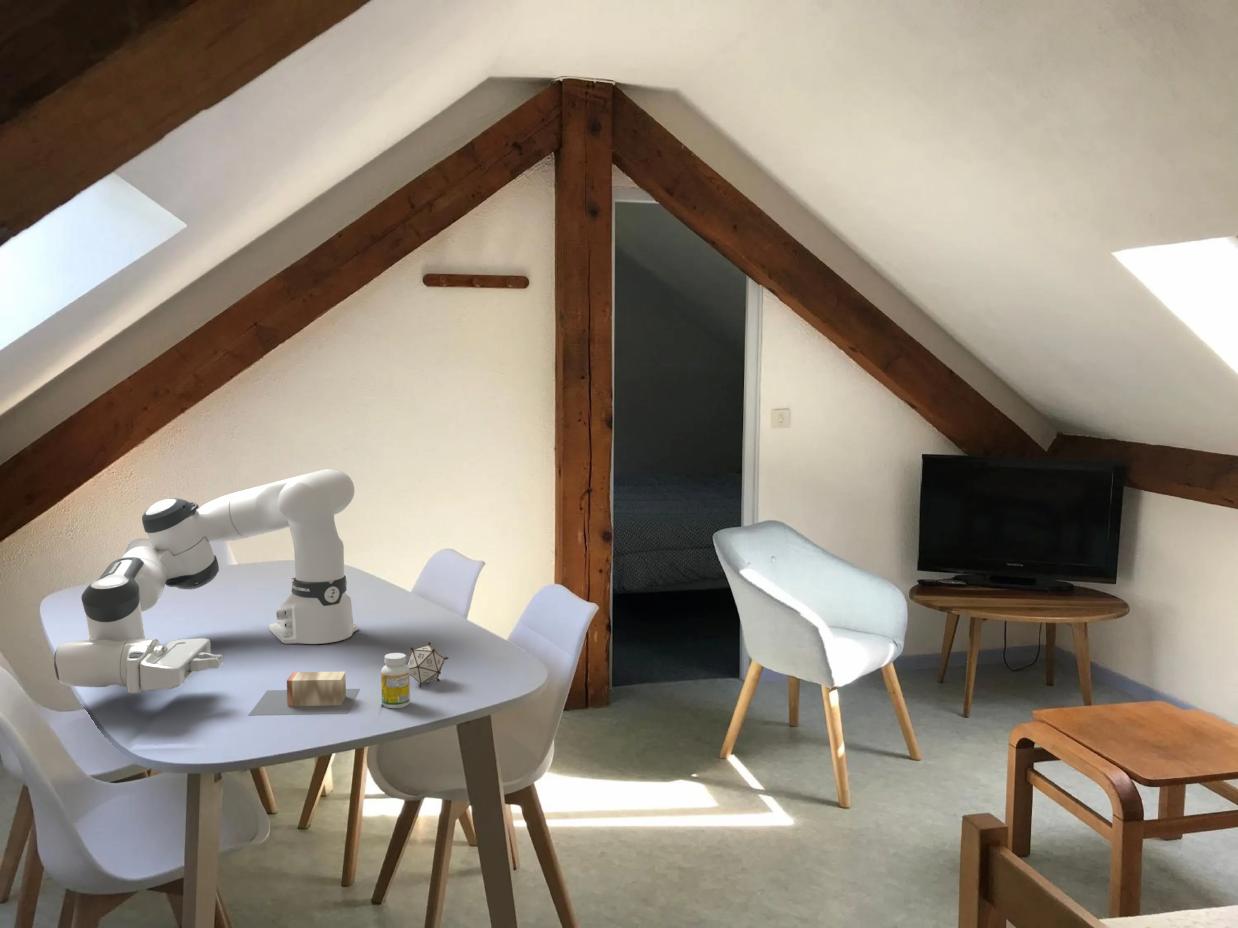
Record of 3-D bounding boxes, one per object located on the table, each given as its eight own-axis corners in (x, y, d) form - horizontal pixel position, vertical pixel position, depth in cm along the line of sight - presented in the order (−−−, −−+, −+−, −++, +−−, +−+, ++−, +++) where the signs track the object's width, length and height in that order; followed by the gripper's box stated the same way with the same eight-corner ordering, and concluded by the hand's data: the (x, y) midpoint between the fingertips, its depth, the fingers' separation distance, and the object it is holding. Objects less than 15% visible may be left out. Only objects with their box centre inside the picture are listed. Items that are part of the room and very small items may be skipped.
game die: (424, 697, 216) (434, 651, 221) (450, 691, 211) (459, 644, 216) (389, 684, 211) (400, 637, 216) (415, 677, 205) (425, 630, 210)
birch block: (286, 680, 197) (340, 679, 198) (292, 672, 202) (345, 671, 203) (287, 706, 197) (341, 705, 198) (293, 697, 202) (345, 696, 203)
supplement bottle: (406, 709, 198) (406, 660, 197) (378, 708, 198) (377, 659, 197) (412, 699, 204) (412, 651, 203) (385, 699, 204) (384, 651, 203)
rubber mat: (248, 718, 193) (248, 715, 192) (267, 693, 206) (267, 690, 206) (347, 716, 194) (347, 713, 194) (359, 691, 208) (359, 688, 208)
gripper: (165, 661, 207) (236, 660, 208) (125, 696, 187) (205, 695, 188) (163, 630, 207) (235, 630, 208) (124, 662, 186) (204, 661, 187)
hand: (221, 661), depth 198 cm, fingers closed
